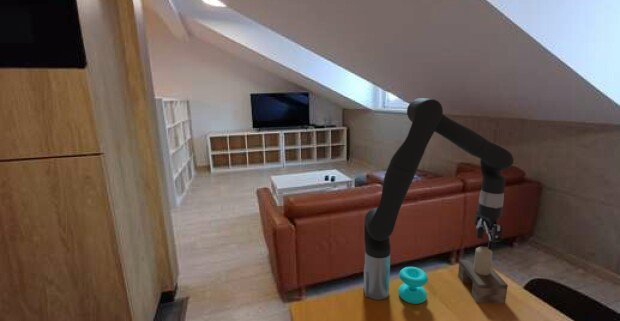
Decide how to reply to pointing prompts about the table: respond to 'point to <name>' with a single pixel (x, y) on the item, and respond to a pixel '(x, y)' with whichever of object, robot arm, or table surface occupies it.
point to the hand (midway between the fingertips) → (485, 243)
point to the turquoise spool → (413, 285)
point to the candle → (483, 260)
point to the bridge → (483, 283)
